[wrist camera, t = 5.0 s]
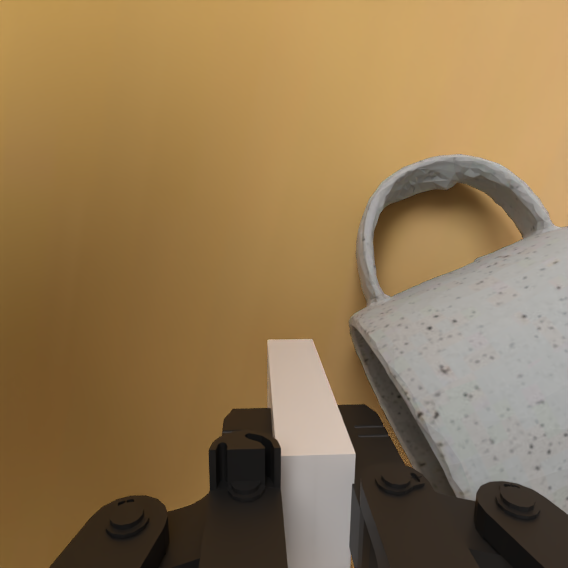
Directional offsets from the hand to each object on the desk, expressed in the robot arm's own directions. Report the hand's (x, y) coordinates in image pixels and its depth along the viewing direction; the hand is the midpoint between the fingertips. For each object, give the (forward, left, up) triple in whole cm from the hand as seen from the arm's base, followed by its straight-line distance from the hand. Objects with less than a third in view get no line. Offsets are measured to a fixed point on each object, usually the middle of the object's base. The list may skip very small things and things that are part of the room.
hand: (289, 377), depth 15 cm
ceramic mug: (+6, +2, -2) cm, 7 cm away
